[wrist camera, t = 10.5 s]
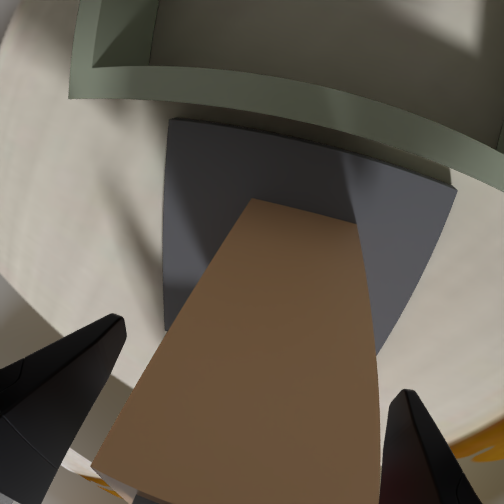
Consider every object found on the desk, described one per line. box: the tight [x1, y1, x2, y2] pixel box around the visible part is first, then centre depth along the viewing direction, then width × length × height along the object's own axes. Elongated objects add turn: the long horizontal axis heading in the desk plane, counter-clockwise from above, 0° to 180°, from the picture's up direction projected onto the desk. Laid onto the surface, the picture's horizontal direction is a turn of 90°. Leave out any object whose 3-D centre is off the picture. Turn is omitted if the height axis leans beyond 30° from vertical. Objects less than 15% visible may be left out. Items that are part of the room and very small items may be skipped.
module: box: [90, 198, 380, 504], centre depth 8 cm, size 4×6×10 cm, turn 171°
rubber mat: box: [163, 118, 458, 356], centre depth 13 cm, size 11×11×1 cm
